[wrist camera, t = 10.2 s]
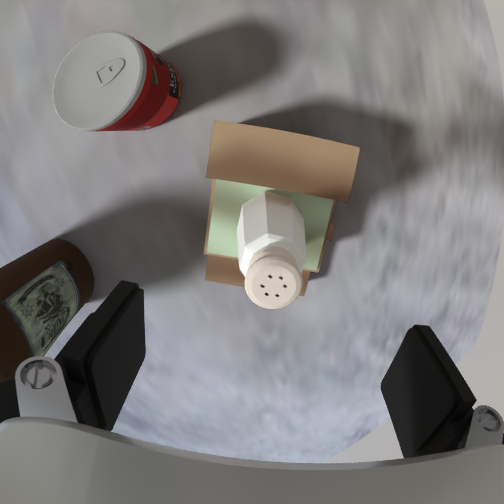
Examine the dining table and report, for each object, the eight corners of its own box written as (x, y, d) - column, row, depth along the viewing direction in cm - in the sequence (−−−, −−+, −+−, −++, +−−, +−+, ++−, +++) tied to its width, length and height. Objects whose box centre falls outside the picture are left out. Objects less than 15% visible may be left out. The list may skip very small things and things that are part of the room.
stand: (229, 125, 28) (214, 120, 19) (337, 145, 28) (368, 149, 20) (209, 268, 34) (191, 314, 25) (306, 283, 34) (319, 334, 25)
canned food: (199, 92, 27) (165, 70, 17) (142, 146, 29) (86, 154, 19) (153, 45, 25) (105, 11, 15) (100, 99, 27) (36, 90, 17)
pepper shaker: (262, 176, 24) (261, 207, 13) (317, 216, 25) (352, 274, 14) (223, 230, 25) (195, 296, 15) (276, 267, 26) (283, 349, 16)
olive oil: (49, 308, 37) (-56, 425, 14) (27, 238, 33) (-111, 334, 10) (108, 309, 36) (0, 462, 13) (86, 229, 33) (-78, 353, 9)
